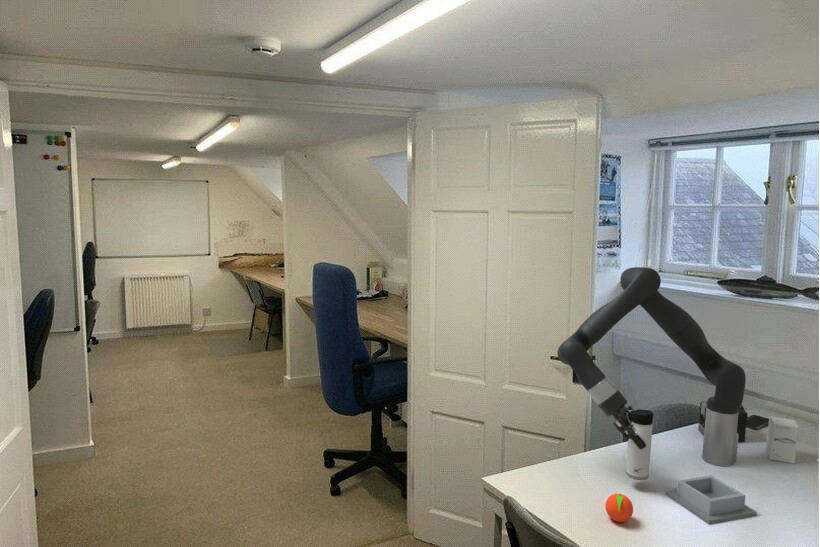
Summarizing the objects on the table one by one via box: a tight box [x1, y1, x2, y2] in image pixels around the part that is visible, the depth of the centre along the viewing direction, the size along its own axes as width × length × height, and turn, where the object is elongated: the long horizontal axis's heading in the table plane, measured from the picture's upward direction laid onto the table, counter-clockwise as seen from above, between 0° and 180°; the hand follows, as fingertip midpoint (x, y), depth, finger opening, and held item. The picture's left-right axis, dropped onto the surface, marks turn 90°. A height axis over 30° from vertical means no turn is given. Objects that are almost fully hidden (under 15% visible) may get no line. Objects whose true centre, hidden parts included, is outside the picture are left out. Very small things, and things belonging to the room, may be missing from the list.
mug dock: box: [664, 474, 757, 525], centre depth 165 cm, size 16×16×5 cm
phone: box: [746, 414, 769, 431], centre depth 227 cm, size 8×1×15 cm
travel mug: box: [625, 408, 654, 481], centre depth 173 cm, size 6×7×20 cm
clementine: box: [605, 493, 634, 523], centre depth 156 cm, size 8×7×7 cm
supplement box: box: [765, 416, 800, 464], centre depth 196 cm, size 7×7×13 cm
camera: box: [697, 401, 749, 443], centre depth 214 cm, size 11×14×15 cm
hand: (646, 443), depth 172 cm, fingers closed on travel mug, 6 cm apart
